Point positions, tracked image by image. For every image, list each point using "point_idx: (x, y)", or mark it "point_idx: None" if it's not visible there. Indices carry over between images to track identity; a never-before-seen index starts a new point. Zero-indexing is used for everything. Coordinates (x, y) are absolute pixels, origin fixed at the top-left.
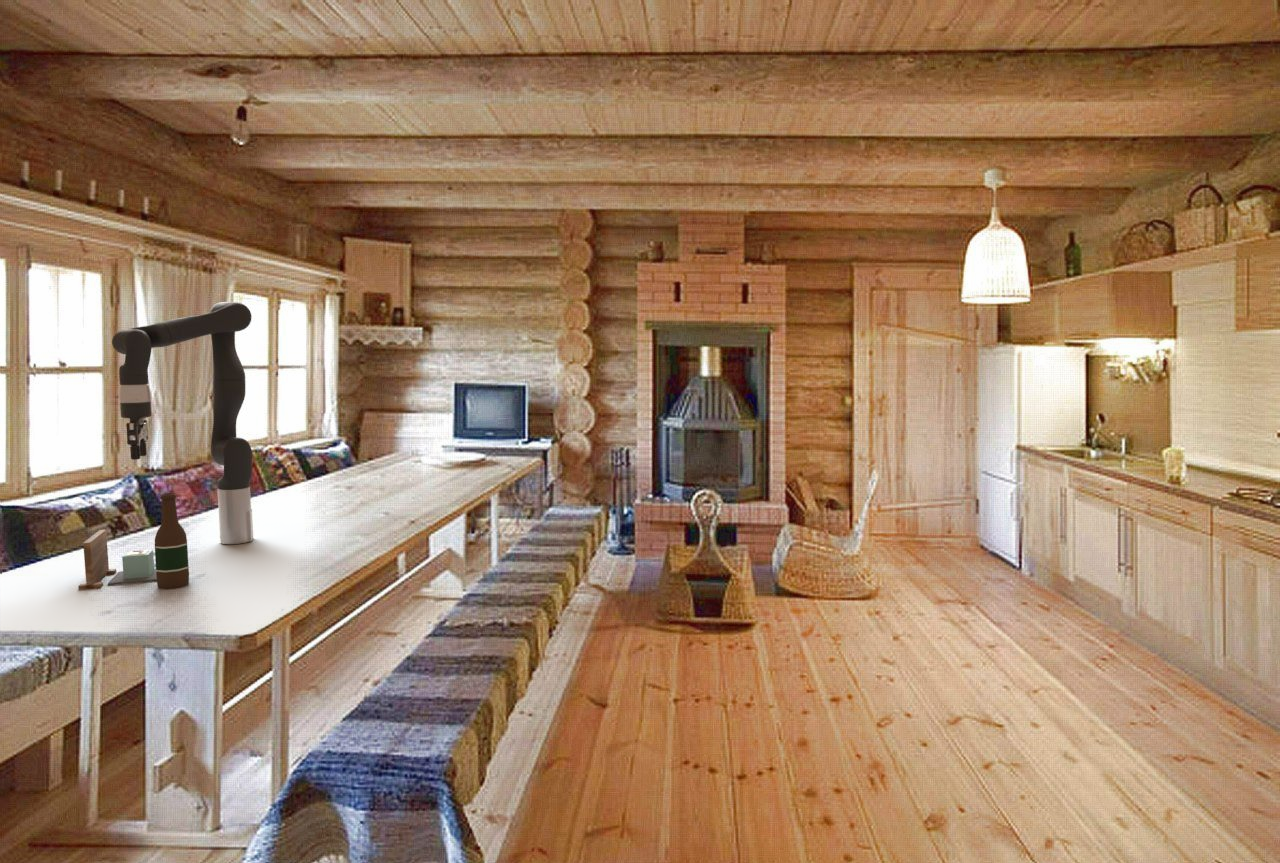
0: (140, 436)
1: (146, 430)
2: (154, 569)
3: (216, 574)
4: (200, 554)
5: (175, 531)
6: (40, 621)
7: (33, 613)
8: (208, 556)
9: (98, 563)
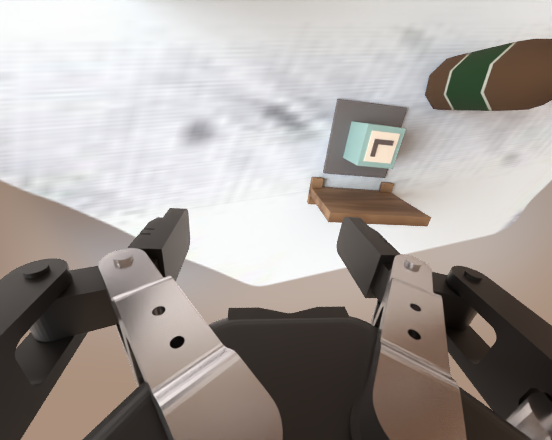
0: (436, 301)
1: (142, 337)
2: (339, 122)
3: (424, 5)
4: (235, 40)
5: None
6: (488, 216)
7: (452, 228)
8: (262, 21)
9: (371, 198)
